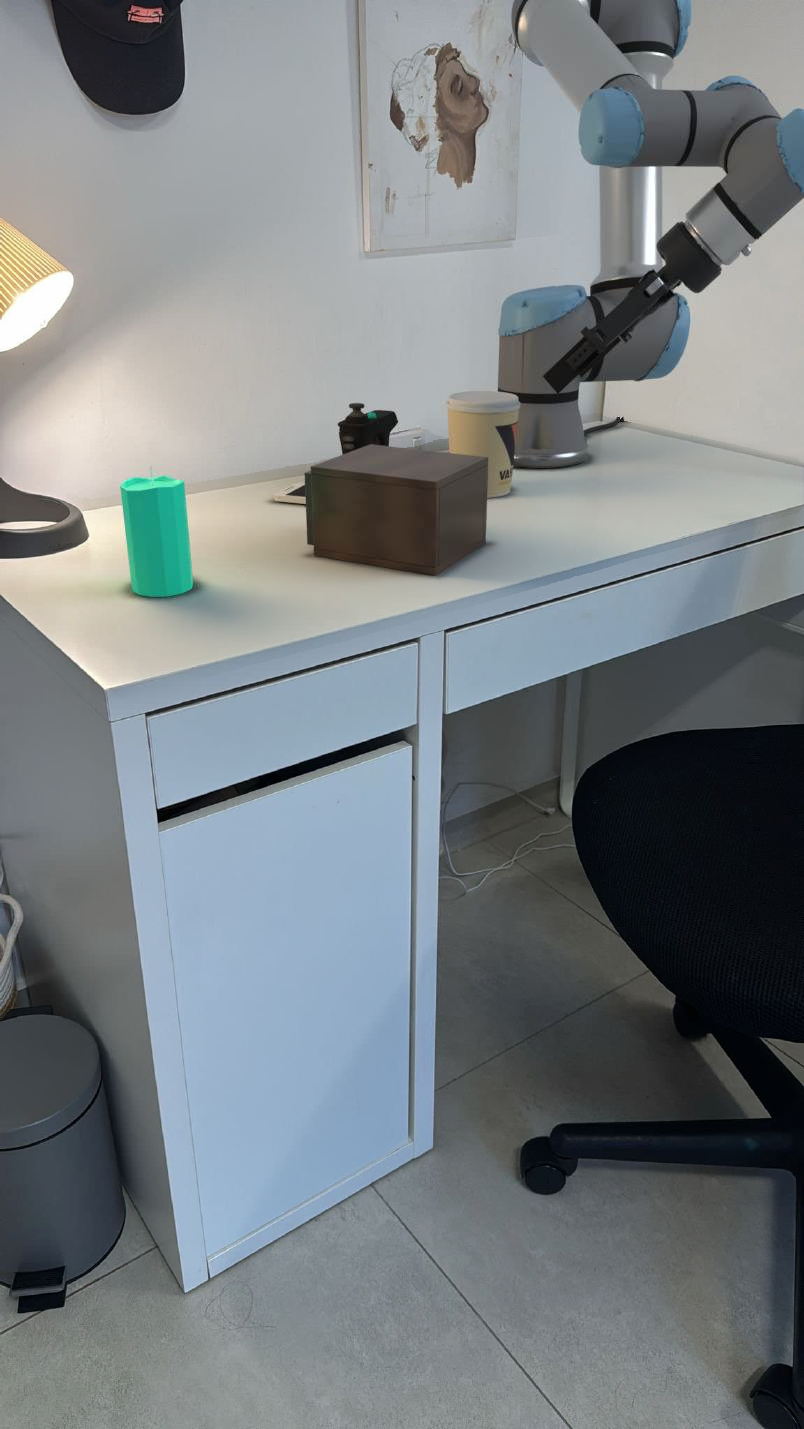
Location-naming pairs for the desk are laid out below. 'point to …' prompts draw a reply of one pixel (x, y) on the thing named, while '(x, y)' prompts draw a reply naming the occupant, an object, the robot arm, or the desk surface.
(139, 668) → the desk surface
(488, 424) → the coffee cup
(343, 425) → the controller
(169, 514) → the candle
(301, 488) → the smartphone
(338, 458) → the cabinet
